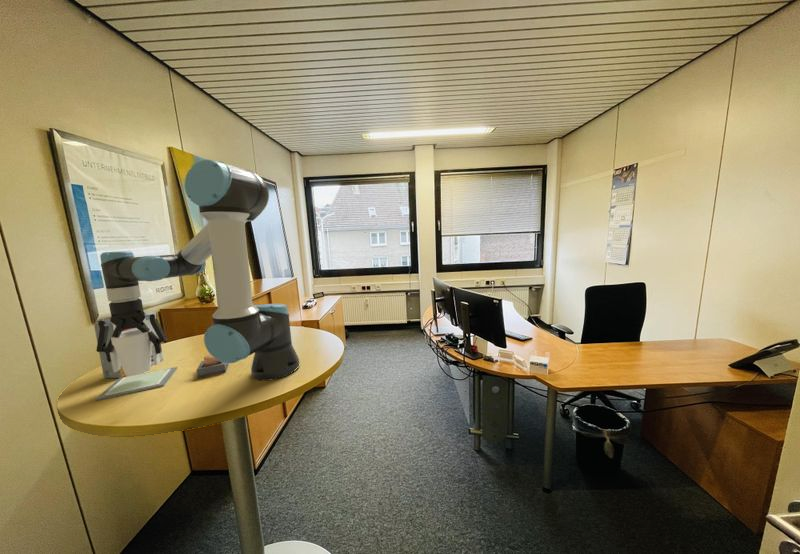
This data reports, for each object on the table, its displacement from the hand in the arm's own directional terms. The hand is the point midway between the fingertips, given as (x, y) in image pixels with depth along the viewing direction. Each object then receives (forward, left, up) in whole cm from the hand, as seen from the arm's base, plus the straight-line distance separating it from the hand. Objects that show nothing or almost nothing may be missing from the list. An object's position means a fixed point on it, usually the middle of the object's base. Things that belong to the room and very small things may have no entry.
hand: (137, 366), depth 92 cm
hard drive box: (+17, +7, -6) cm, 19 cm away
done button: (-3, -21, -3) cm, 22 cm away
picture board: (0, 0, -6) cm, 6 cm away
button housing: (-3, -21, -6) cm, 22 cm away
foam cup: (0, 0, -2) cm, 2 cm away
